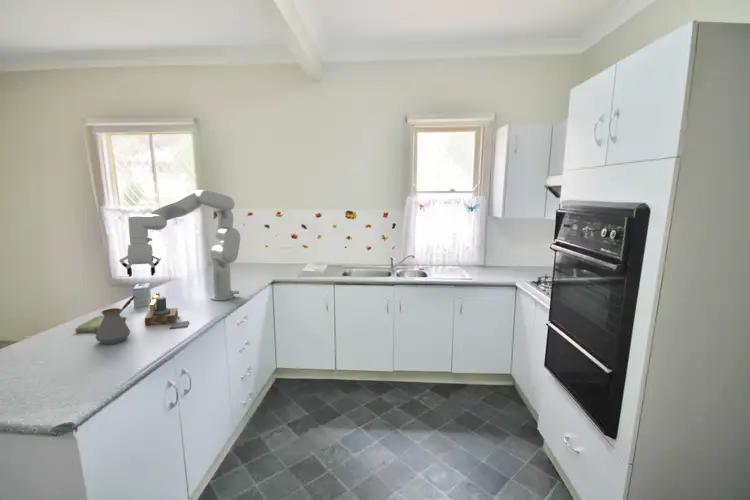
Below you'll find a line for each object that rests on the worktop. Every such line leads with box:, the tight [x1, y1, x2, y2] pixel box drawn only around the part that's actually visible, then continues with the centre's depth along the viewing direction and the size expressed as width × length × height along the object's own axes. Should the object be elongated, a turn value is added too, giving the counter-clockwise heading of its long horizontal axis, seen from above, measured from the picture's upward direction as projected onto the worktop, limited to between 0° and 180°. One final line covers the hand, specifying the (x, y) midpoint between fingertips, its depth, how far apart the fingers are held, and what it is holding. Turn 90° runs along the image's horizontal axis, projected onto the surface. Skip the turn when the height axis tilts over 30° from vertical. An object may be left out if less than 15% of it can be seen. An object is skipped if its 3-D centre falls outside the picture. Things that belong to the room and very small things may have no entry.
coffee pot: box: [95, 295, 138, 345], centre depth 147 cm, size 21×12×15 cm, turn 2°
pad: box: [169, 320, 189, 330], centre depth 162 cm, size 7×7×1 cm
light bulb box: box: [132, 282, 152, 309], centre depth 190 cm, size 11×7×11 cm, turn 25°
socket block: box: [144, 307, 179, 327], centre depth 168 cm, size 12×14×5 cm
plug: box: [153, 296, 171, 315], centre depth 166 cm, size 7×7×12 cm
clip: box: [149, 292, 161, 313], centre depth 170 cm, size 3×19×5 cm, turn 24°
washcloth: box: [74, 315, 127, 334], centre depth 159 cm, size 13×18×3 cm
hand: (141, 275), depth 171 cm, fingers open, 8 cm apart
